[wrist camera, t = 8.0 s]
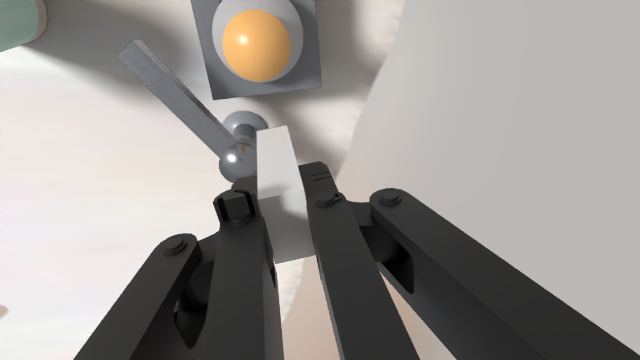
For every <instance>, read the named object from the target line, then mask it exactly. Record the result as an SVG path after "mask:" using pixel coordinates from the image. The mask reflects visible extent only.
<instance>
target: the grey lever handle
mask: <svg viewBox="0 0 640 360" xmlns="http://www.w3.org/2000/svg"><path fill="white" fill-rule="evenodd" d="M116 58H117V59H118V60H119V61H120V62H121V63H122V64H124V65H125V66H126V67H127V68H128V69H129V70H130V71H131V72H132V73H133V74H134V75H135V76H136V77H137V78H138V79H139V80H140V81H141V82H142V83H143V84H144V85H145V86H146V87H147V88H148V89H149V90H150V91H151V92H152V93H153V94H154V95H155V96H156V97H157V98H159V99H160V100H161V101H162V102H163V103H164V104H165V105H166V106H167V107H168V108H169V109H170V110H171V111H172V112H173V113H174V114H175V115H176V116H177V117H178V118H179V119H180V120H181V121H182V122H183V123H184V124H185V125H186V126H187V127H188V128H189V129H190V130H191V131H192V132H193V133H195V134H196V135H197V136H198V137H199V138H200V139H201V140H202V141H203V142H204V143H205V144H206V145H207V146H208V147H209V148H210V149H211V150H212V151H213V152H214V153H215V154H216V155H217V156H218V157H219V158H220V161H219V169H220V172H221V174H222V175H223V177H224V178H225V179H227V180H228V181H230V182H232V183H234V182H235V181H236V180H237V179H240V178H245V177H250V176H255V175H257V145H256V144H255V136H256V133H255V130H254V128H253V127H252V126H251V125H249V124H246V123H242V124H239V125H237V126H236V127H235V129H234V131H233V135H232V134H231V133H230V132H229V131H228V130H227V129H226V128H225V127H224V126H223V125H222V124H221V123H220V122H219V121H218V120H217V119H216V118H215V117H214V116H213V115H212V113H211V112H210V111H209V110H208V109H207V108H206V107H205V106H204V105H203V104H202V103H201V102H200V101H199V100H198V99H197V98H196V97H195V96H194V95H193V94H192V93H191V92H190V91H189V90H188V89H187V88H186V87H185V86H184V84H183V83H182V82H181V81H180V80H179V79H178V78H177V77H176V76H175V75H174V74H173V73H172V72H171V71H170V70H169V69H168V68H167V67H166V66H165V65H164V64H163V63H162V62H161V61H160V60H159V59H158V58H157V57H156V55H155V54H154V53H153V52H152V51H151V50H150V49H149V48H148V47H147V46H146V45H145V44H144V43H143V42H142V41H141V40H140V39H139V40H134V41H132V42H131V43H130V44H129V45H128V46H127V47H126V48H125V49H124V50H123V51H122V52H121V53H120V54H119V55H117V56H116Z"/></svg>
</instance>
